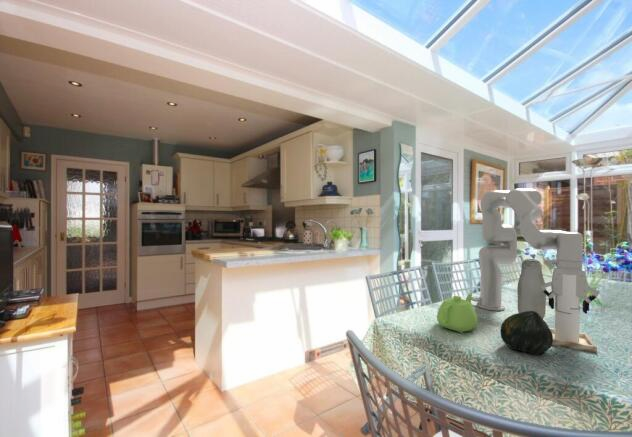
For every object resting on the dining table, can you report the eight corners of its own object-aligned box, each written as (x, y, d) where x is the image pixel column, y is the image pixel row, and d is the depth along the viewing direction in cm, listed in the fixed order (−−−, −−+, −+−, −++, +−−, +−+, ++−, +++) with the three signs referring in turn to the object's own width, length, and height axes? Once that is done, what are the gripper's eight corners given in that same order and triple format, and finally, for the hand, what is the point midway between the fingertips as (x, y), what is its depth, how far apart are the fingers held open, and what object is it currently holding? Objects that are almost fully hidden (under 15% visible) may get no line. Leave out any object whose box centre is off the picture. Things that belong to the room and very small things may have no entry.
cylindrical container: (583, 344, 112) (585, 275, 112) (561, 342, 114) (562, 274, 113) (571, 336, 119) (572, 272, 119) (550, 335, 121) (551, 271, 120)
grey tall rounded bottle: (530, 317, 144) (531, 257, 143) (550, 325, 133) (552, 260, 133) (511, 318, 142) (513, 257, 141) (531, 326, 132) (532, 261, 131)
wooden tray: (546, 343, 114) (546, 338, 114) (542, 331, 126) (542, 326, 126) (597, 352, 107) (597, 347, 107) (587, 339, 119) (587, 333, 119)
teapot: (455, 317, 143) (455, 289, 142) (489, 327, 130) (489, 296, 130) (427, 327, 130) (427, 296, 129) (461, 339, 117) (462, 304, 117)
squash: (490, 323, 119) (505, 301, 109) (532, 326, 118) (551, 305, 108) (503, 360, 109) (520, 340, 99) (548, 364, 107) (571, 344, 97)
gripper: (541, 264, 117) (540, 309, 117) (602, 268, 108) (601, 317, 108) (539, 261, 123) (538, 304, 124) (596, 265, 115) (595, 311, 115)
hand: (568, 310), depth 116 cm, fingers open, 9 cm apart
